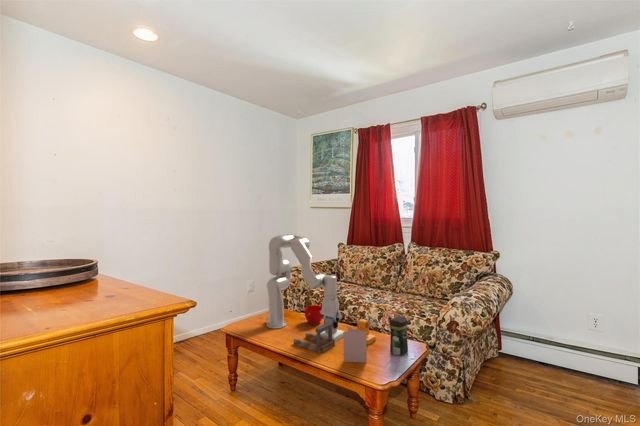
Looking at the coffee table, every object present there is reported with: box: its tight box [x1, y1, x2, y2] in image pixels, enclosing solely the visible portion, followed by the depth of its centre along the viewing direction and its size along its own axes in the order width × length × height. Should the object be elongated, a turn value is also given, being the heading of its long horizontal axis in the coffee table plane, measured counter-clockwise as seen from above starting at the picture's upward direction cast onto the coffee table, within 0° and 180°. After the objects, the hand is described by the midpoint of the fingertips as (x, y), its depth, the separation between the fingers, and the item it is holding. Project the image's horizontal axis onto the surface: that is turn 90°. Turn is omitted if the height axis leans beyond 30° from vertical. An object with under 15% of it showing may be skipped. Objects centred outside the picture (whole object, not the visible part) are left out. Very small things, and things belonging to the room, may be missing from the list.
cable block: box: [325, 317, 338, 335], centre depth 190 cm, size 5×5×9 cm
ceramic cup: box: [303, 304, 323, 326], centre depth 211 cm, size 13×17×10 cm
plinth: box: [321, 329, 346, 342], centre depth 190 cm, size 12×12×2 cm
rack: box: [292, 332, 336, 355], centre depth 179 cm, size 20×12×3 cm, turn 52°
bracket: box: [356, 318, 377, 346], centre depth 182 cm, size 11×7×12 cm, turn 134°
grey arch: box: [315, 322, 333, 346], centre depth 174 cm, size 3×12×9 cm, turn 142°
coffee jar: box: [389, 315, 409, 357], centre depth 168 cm, size 10×8×19 cm
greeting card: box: [342, 326, 368, 363], centre depth 159 cm, size 11×7×15 cm, turn 48°
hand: (331, 326), depth 190 cm, fingers open, 6 cm apart
